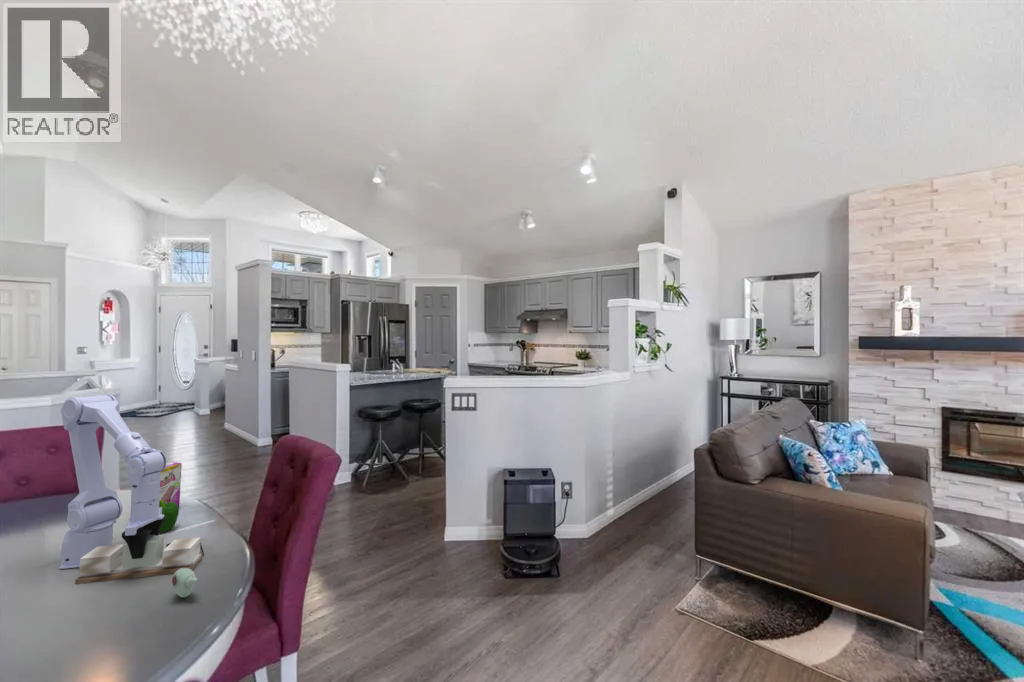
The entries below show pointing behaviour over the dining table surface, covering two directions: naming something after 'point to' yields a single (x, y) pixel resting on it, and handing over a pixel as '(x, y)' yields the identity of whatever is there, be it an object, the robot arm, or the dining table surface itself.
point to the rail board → (108, 566)
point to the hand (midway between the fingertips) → (143, 552)
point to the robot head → (183, 581)
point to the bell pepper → (168, 515)
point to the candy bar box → (170, 483)
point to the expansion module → (145, 553)
